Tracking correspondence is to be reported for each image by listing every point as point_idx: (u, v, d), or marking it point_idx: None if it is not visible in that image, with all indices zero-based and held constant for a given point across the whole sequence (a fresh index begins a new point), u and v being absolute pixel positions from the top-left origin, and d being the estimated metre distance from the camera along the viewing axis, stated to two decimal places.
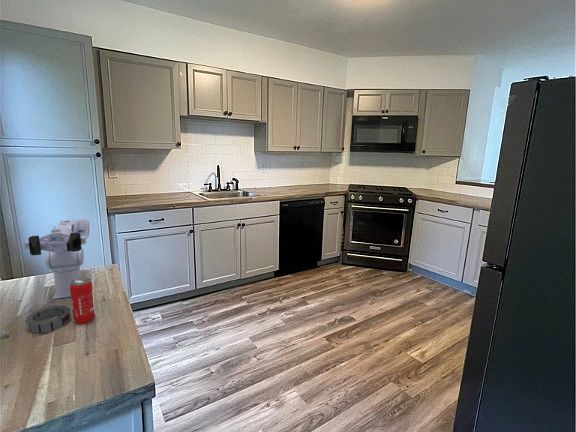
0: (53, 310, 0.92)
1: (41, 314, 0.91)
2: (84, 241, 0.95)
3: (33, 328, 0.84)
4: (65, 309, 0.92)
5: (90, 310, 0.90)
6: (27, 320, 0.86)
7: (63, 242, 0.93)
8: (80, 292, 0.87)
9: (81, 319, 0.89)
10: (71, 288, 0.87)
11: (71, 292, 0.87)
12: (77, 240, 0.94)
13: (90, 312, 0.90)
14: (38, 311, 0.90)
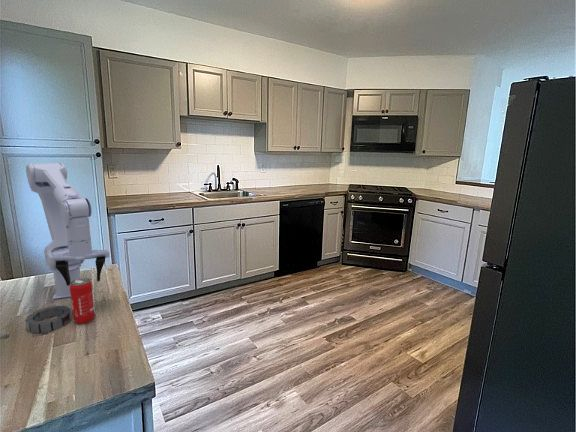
0: (53, 310, 0.92)
1: (41, 314, 0.91)
2: None
3: (33, 328, 0.84)
4: (65, 309, 0.92)
5: (90, 310, 0.90)
6: (27, 320, 0.86)
7: (88, 258, 0.95)
8: (80, 292, 0.87)
9: (81, 319, 0.89)
10: (71, 288, 0.87)
11: (71, 292, 0.87)
12: None
13: (90, 312, 0.90)
14: (38, 311, 0.90)
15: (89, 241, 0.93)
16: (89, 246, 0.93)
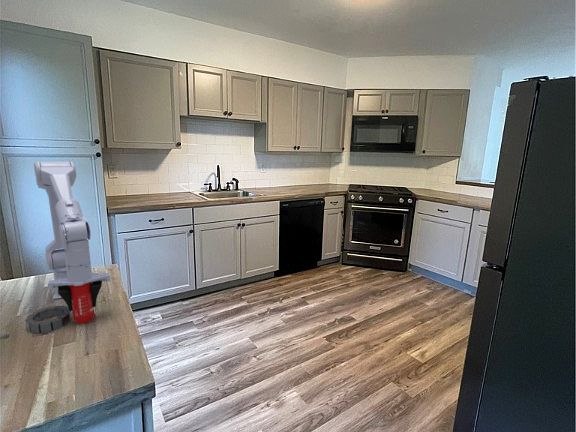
0: (53, 310, 0.92)
1: (41, 314, 0.91)
2: None
3: (33, 328, 0.84)
4: (65, 309, 0.92)
5: (90, 310, 0.90)
6: (27, 320, 0.86)
7: None
8: (80, 292, 0.87)
9: (81, 319, 0.89)
10: (71, 288, 0.87)
11: (71, 292, 0.87)
12: None
13: (90, 312, 0.90)
14: (38, 311, 0.90)
15: (89, 265, 0.88)
16: (89, 270, 0.88)
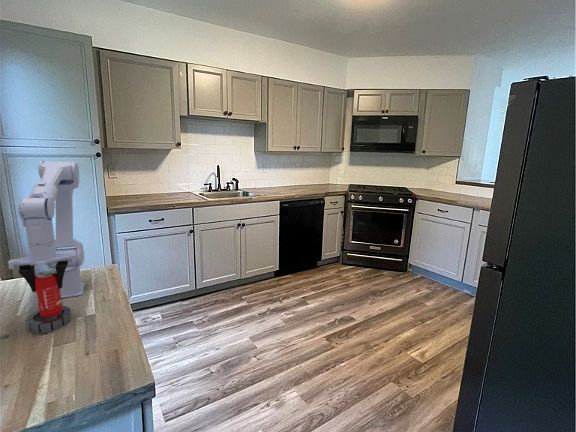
0: None
1: None
2: None
3: (33, 328, 0.84)
4: (65, 309, 0.92)
5: (57, 303, 0.87)
6: (27, 320, 0.86)
7: None
8: (44, 284, 0.84)
9: (47, 313, 0.86)
10: (35, 280, 0.84)
11: (35, 285, 0.85)
12: None
13: (57, 306, 0.87)
14: (38, 311, 0.90)
15: (52, 244, 0.85)
16: (52, 249, 0.85)
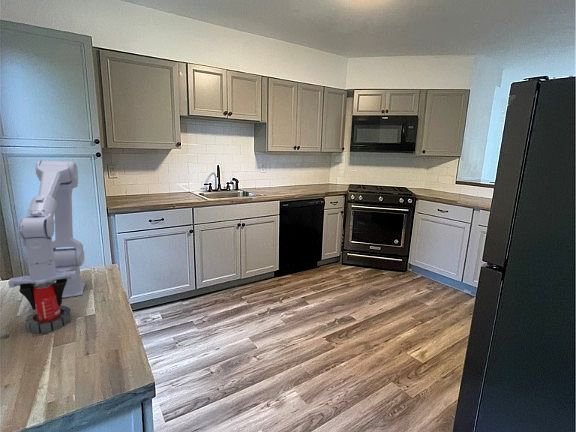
0: None
1: None
2: None
3: (33, 328, 0.84)
4: (65, 309, 0.92)
5: (55, 313, 0.88)
6: (27, 320, 0.86)
7: (52, 280, 0.87)
8: (43, 295, 0.85)
9: None
10: (34, 291, 0.84)
11: (34, 295, 0.85)
12: None
13: (56, 316, 0.88)
14: None
15: (52, 262, 0.86)
16: (52, 268, 0.86)
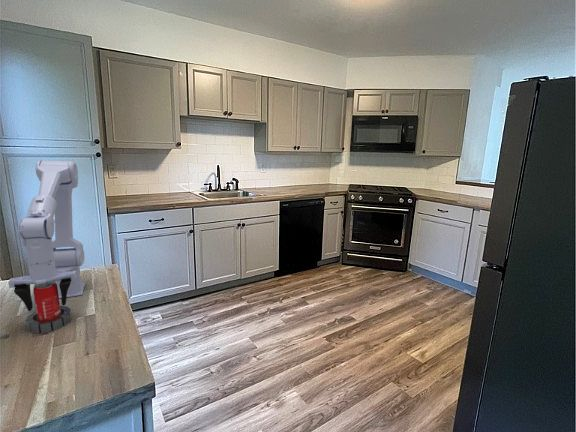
0: None
1: None
2: None
3: (33, 328, 0.84)
4: (65, 309, 0.92)
5: (55, 313, 0.88)
6: (27, 320, 0.86)
7: None
8: (44, 295, 0.85)
9: None
10: (35, 291, 0.84)
11: (35, 295, 0.85)
12: None
13: (56, 316, 0.88)
14: None
15: (52, 262, 0.86)
16: (52, 268, 0.86)
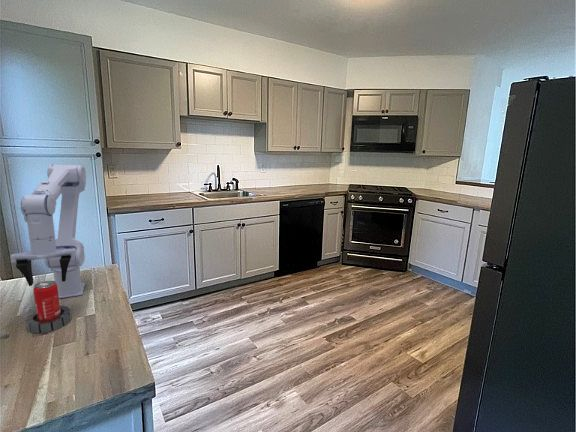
0: None
1: None
2: None
3: (33, 328, 0.84)
4: (65, 309, 0.92)
5: (55, 313, 0.88)
6: (27, 320, 0.86)
7: (52, 257, 0.90)
8: (44, 295, 0.85)
9: None
10: (35, 291, 0.84)
11: (35, 295, 0.85)
12: None
13: (56, 316, 0.88)
14: None
15: (53, 239, 0.88)
16: (53, 244, 0.89)
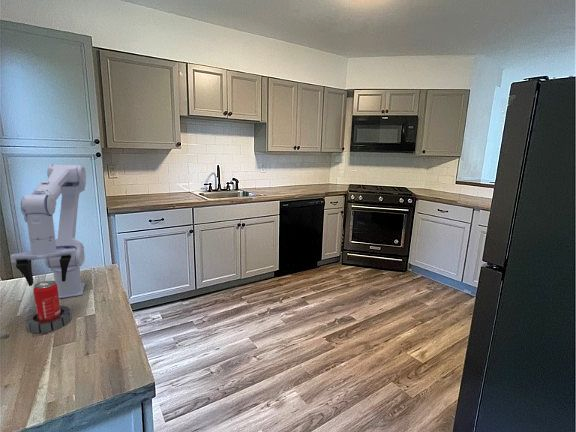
0: None
1: None
2: None
3: (33, 328, 0.84)
4: (65, 309, 0.92)
5: (55, 313, 0.88)
6: (27, 320, 0.86)
7: (52, 257, 0.90)
8: (44, 295, 0.85)
9: None
10: (35, 291, 0.84)
11: (35, 295, 0.85)
12: None
13: (56, 316, 0.88)
14: None
15: (53, 239, 0.88)
16: (53, 244, 0.89)
